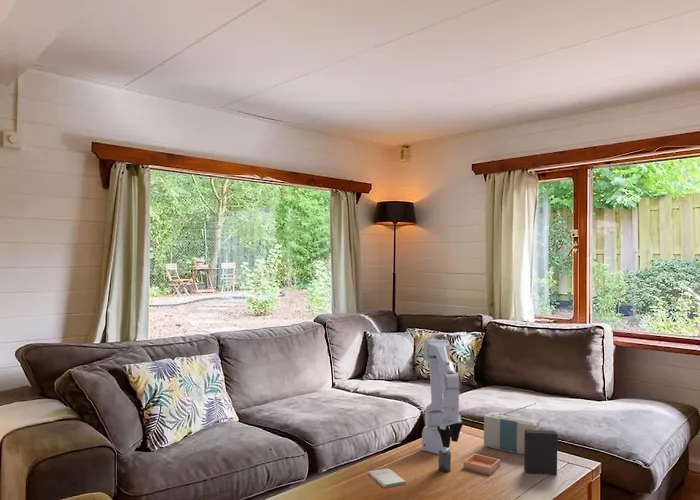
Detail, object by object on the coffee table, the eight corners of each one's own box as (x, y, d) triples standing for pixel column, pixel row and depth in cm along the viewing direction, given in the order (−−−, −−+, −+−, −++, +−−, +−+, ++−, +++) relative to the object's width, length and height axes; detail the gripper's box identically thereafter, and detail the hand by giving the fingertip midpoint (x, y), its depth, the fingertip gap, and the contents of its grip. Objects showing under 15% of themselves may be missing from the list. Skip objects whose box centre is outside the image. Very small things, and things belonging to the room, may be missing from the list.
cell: (436, 470, 199) (436, 451, 199) (441, 467, 203) (441, 447, 203) (447, 473, 197) (447, 454, 197) (452, 469, 200) (452, 450, 200)
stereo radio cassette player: (482, 447, 224) (483, 398, 224) (490, 442, 231) (490, 394, 231) (534, 459, 212) (535, 407, 212) (540, 453, 219) (541, 403, 219)
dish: (463, 468, 202) (463, 461, 202) (474, 460, 210) (474, 453, 210) (490, 475, 196) (490, 468, 196) (500, 466, 204) (500, 459, 204)
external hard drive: (384, 489, 184) (368, 475, 196) (405, 485, 188) (389, 472, 199) (384, 484, 184) (368, 471, 196) (406, 481, 188) (389, 467, 199)
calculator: (554, 471, 200) (554, 430, 200) (557, 476, 196) (558, 434, 196) (523, 469, 202) (523, 428, 202) (526, 474, 197) (526, 432, 197)
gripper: (453, 413, 192) (452, 452, 192) (468, 404, 204) (468, 440, 204) (434, 409, 196) (434, 447, 196) (451, 401, 208) (450, 436, 208)
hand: (450, 444), depth 200 cm, fingers open, 7 cm apart
